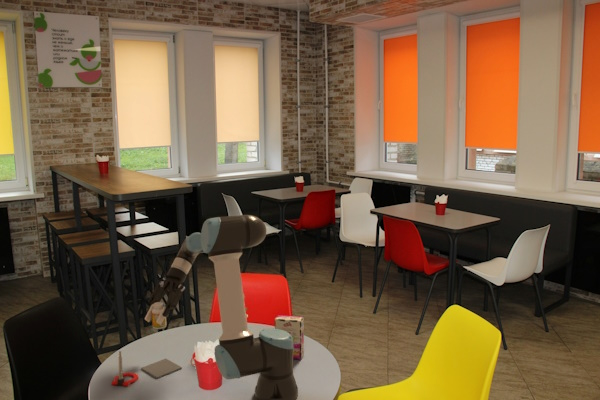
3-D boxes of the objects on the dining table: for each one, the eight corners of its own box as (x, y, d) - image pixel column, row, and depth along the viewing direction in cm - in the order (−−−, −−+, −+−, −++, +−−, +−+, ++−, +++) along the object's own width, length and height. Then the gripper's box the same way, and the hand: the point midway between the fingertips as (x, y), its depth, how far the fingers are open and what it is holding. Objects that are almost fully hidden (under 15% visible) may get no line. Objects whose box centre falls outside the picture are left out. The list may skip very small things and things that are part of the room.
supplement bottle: (154, 324, 221) (152, 301, 220) (167, 323, 222) (166, 301, 220) (151, 329, 216) (150, 306, 215) (165, 329, 217) (164, 305, 215)
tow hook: (121, 374, 207) (109, 385, 198) (120, 342, 206) (108, 351, 196) (142, 376, 206) (130, 387, 197) (141, 343, 204) (130, 353, 195)
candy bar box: (304, 355, 223) (304, 316, 220) (301, 360, 218) (301, 321, 215) (277, 352, 226) (277, 314, 223) (274, 357, 221) (274, 318, 218)
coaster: (181, 368, 211) (181, 367, 211) (157, 378, 203) (156, 377, 203) (165, 359, 218) (165, 358, 218) (141, 369, 210) (141, 367, 210)
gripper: (200, 278, 225) (175, 330, 214) (166, 272, 234) (140, 321, 222) (191, 269, 220) (165, 322, 208) (157, 263, 228) (130, 313, 217)
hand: (152, 321), depth 215 cm, fingers closed on supplement bottle, 5 cm apart
